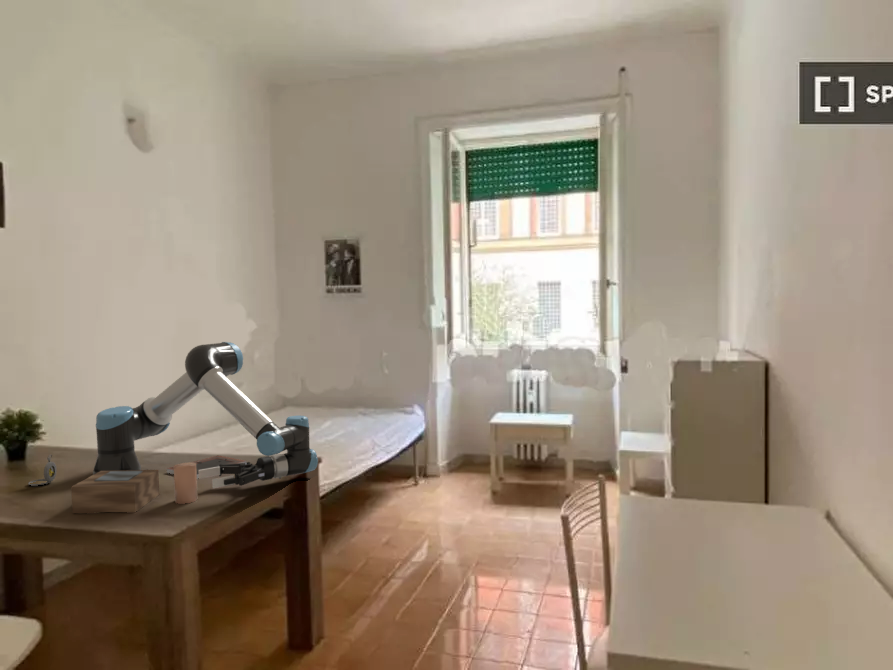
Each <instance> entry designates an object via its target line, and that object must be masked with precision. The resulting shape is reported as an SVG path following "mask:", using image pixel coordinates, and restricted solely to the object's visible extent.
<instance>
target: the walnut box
mask: <svg viewBox="0 0 893 670" xmlns="http://www.w3.org/2000/svg"><path fill="white" fill-rule="evenodd" d="M159 470H160V469H141V470H120V471H100V472H98V473H96V474H94V475H93V474H92V475H90V476H88V477H87V478H85V479H83V480H81V481H79V482H76V484H74V485H72V486H71V487H70V492H71V509H72V514H73V513H87V514H98V513H97V512H127V513H137V512H138V511H140V510H141V509H142V508H144V506H146V505H147V504H149V503H150V502H152V501H153V500H154V499H156V498H157V497H158V496H160V474H159V473H160V472H159ZM136 511H137V512H136ZM94 512H96V513H94Z"/></svg>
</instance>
